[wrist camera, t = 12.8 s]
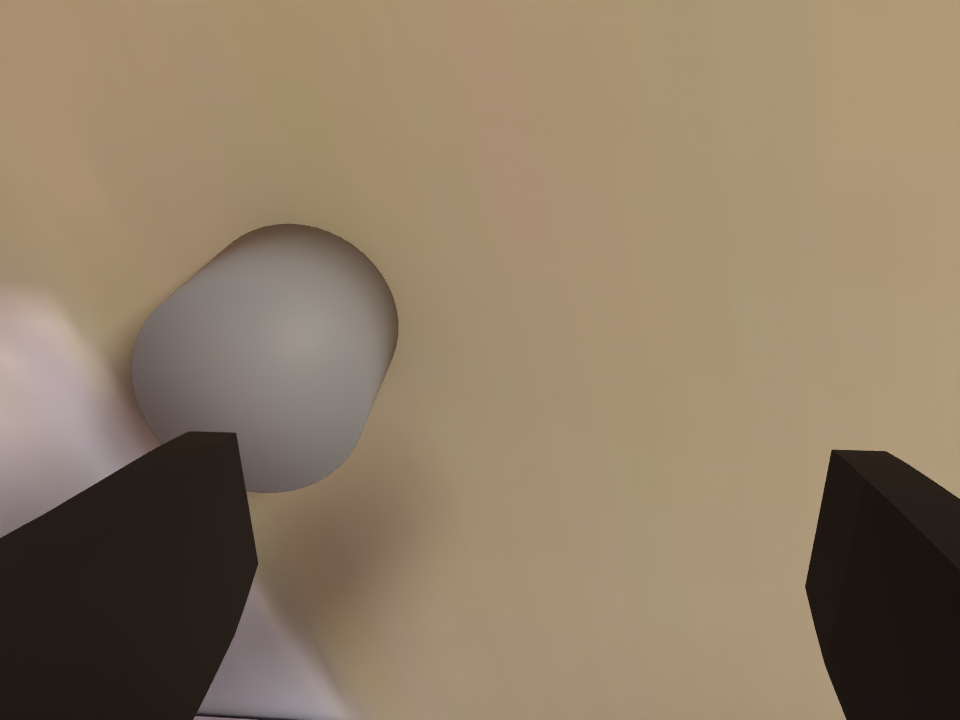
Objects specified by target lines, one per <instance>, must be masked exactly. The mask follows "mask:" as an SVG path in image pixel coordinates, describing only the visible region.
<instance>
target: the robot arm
mask: <svg viewBox="0 0 960 720" xmlns="http://www.w3.org/2000/svg"><path fill="white" fill-rule="evenodd" d="M257 566H258V560H257V554H256V548H255V542H254V536H253V530H252V524H251V518H250V512H249V506H248V500H247V494H246V488H245V482H244V476H243V470H242V464H241V458H240V452H239V446H238V440H237V434H236V433H235V432H201V431H189V432H186V433H184V434H182V435H180V436H178V437H176V438H174V439H172V440H170V441H168V442H166V443H164V444H163V445H161V446H159V447H157V448H155V449H154V450H152V451H150V452H148V453H147V454H145V455H143V456H142V457H140V458H138V459H136V460H135V461H133V462H131V463H130V464H128V465H126V466H125V467H123V468H121V469H120V470H118V471H116V472H115V473H113V474H111V475H110V476H108V477H106V478H105V479H103V480H101V481H99V482H98V483H96V484H94V485H93V486H91V487H89V488H88V489H86V490H84V491H83V492H81V493H79V494H78V495H76V496H74V497H72V498H71V499H69V500H67V501H66V502H64V503H62V504H61V505H59V506H57V507H56V508H54V509H52V510H50V511H49V512H47V513H45V514H44V515H42V516H40V517H38V518H36V519H34V520H33V521H31V522H29V523H27V524H25V525H23V526H22V527H20V528H18V529H16V530H14V531H12V532H11V533H9V534H7V535H5V536H3V537H2V538H0V720H256V719H238V718H221V717H203V716H195V715H196V713H197V711H198V709H199V707H200V705H201V703H202V701H203V699H204V697H205V695H206V693H207V691H208V689H209V687H210V685H211V683H212V681H213V679H214V677H215V675H216V673H217V671H218V669H219V667H220V664H221V662H222V660H223V658H224V656H225V654H226V652H227V650H228V648H229V646H230V644H231V641H232V639H233V637H234V635H235V632H236V629H237V627H238V624H239V621H240V618H241V615H242V612H243V609H244V607H245V604H246V601H247V597H248V594H249V591H250V588H251V585H252V582H253V578H254V575H255V572H256V569H257ZM805 588H806V592H807V596H808V601H809V605H810V609H811V613H812V617H813V621H814V626H815V630H816V633H817V637H818V641H819V645H820V648H821V652H822V656H823V659H824V663H825V666H826V669H827V671H828V674H829V676H830V679H831V682H832V684H833V687H834V689H835V692H836V694H837V697H838V699H839V702H840V704H841V707H842V709H843V712H844V714H845V717H846V719H847V720H960V499H959V498H957V497H956V496H954V495H953V494H952V493H950V492H949V491H947V490H946V489H944V488H943V487H941V486H940V485H938V484H937V483H935V482H934V481H932V480H931V479H930V478H928V477H927V476H925V475H924V474H922V473H921V472H919V471H918V470H916V469H914V468H913V467H911V466H910V465H908V464H907V463H905V462H903V461H902V460H900V459H898V458H897V457H895V456H893V455H891V454H890V453H888V452H886V451H858V450H832V451H831V456H830V462H829V467H828V472H827V477H826V482H825V487H824V493H823V498H822V503H821V508H820V513H819V518H818V524H817V529H816V534H815V539H814V544H813V549H812V555H811V560H810V565H809V570H808V575H807V580H806V585H805Z"/></svg>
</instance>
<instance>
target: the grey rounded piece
mask: <svg viewBox="0 0 960 720" xmlns="http://www.w3.org/2000/svg"><path fill="white" fill-rule="evenodd" d="M397 338H398V316H397V309H396V306H395V302H394V298H393V296H392V293H391V291H390V289H389V286H388V285H387V283H386V281H385V279H384V278H383V276H382V274H381V273H380V272H379V270H378V269H377V268H376V266H375V265H374V264H373V263H372V262H371V261H370V260H369V259H368V258H367V257H366V256H365V254H363V253H362V252H361V251H360V250H358V249H357V248H356V247H355V246H354V245H352V244H350V243H349V242H347V241H346V240H344V239H342V238H341V237H339V236H336V235H334V234H332V233H330V232H328V231H325V230H322V229H319V228H315V227H310V226H306V225H297V224H278V225H271V226H266V227H262V228H259V229H256V230H253V231H251V232H249V233H247V234H245V235H243V236H241V237H239V238H238V239H236V240H235V241H234V242H232V243H231V244H230V245H229V246H227V247H226V248H225V249H224V250H223V251H222V252H220V253H219V254H218V255H217V256H216V257H215V258H214V259H212V260H211V261H210V262H209V263H208V264H207V265H206V266H204V267H203V268H202V269H201V270H200V271H199V272H197V273H196V274H195V275H194V276H193V277H192V278H191V279H189V280H188V281H187V282H186V283H185V284H184V285H183V286H181V287H180V288H179V289H178V290H177V291H176V292H175V293H173V294H172V295H171V296H170V297H169V298H168V299H166V300H165V301H164V302H163V303H162V304H161V305H160V306H159V307H158V308H157V309H156V310H155V311H154V312H153V313H152V314H151V315H150V316H149V318H148V319H147V320H146V322H145V323H144V325H143V326H142V328H141V330H140V332H139V334H138V336H137V339H136V342H135V346H134V349H133V355H132V361H131V378H132V385H133V391H134V394H135V398H136V401H137V404H138V407H139V409H140V411H141V414H142V416H143V418H144V420H145V421H146V423H147V425H148V426H149V428H150V430H151V431H152V433H153V434H154V435H155V437H156V438H157V439H158V441H159V442H160V443H161V444H162V445H163V444H164V443H166V442H168V441H170V440H172V439H174V438H176V437H178V436H180V435H182V434H184V433H186V432H189V431H201V432H235V433H236V434H237V440H238V446H239V452H240V458H241V464H242V470H243V476H244V482H245V488H246V491H249V492H260V493H278V492H285V491H292V490H296V489H299V488H303V487H306V486H309V485H311V484H313V483H316V482H318V481H320V480H321V479H323V478H325V477H327V476H328V475H330V474H331V473H332V472H333V471H335V470H336V469H337V468H339V466H340V465H341V464H342V463H343V462H344V461H345V460H346V459H347V458H348V456H349V455H350V454H351V452H352V451H353V449H354V448H355V446H356V444H357V442H358V440H359V437H360V435H361V433H362V430H363V428H364V426H365V423H366V421H367V418H368V416H369V414H370V411H371V409H372V406H373V404H374V401H375V399H376V397H377V394H378V392H379V389H380V387H381V384H382V382H383V380H384V377H385V375H386V372H387V370H388V368H389V365H390V363H391V360H392V358H393V355H394V352H395V349H396V345H397Z"/></svg>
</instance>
